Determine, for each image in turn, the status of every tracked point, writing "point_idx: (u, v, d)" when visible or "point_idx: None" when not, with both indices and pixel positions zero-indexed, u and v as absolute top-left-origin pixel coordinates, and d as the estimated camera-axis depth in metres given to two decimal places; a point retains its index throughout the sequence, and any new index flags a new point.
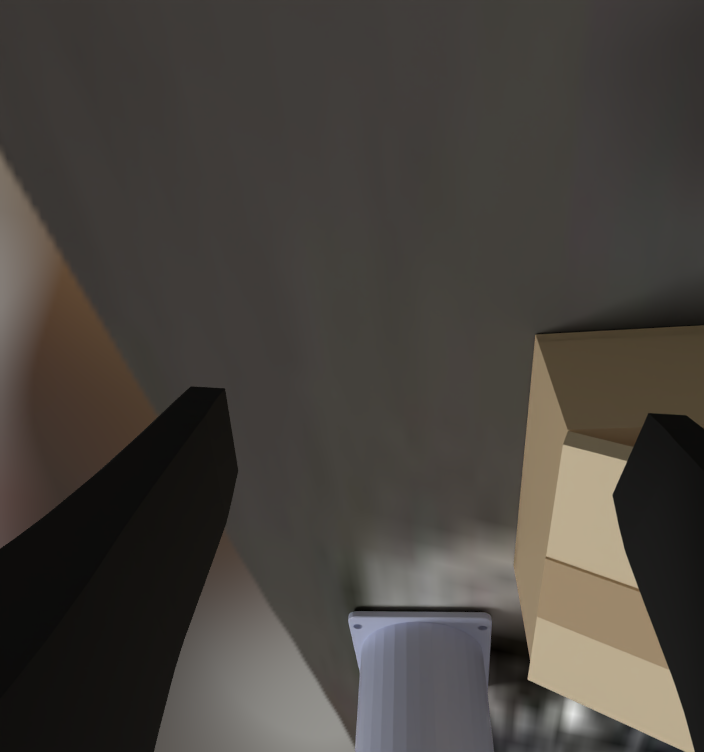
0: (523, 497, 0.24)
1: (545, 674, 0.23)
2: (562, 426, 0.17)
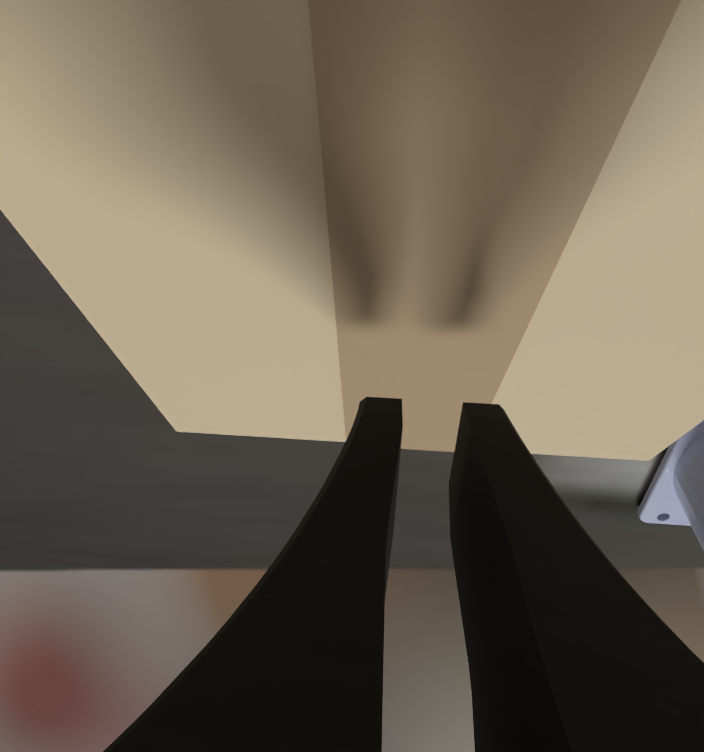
0: None
1: (619, 450, 0.16)
2: None
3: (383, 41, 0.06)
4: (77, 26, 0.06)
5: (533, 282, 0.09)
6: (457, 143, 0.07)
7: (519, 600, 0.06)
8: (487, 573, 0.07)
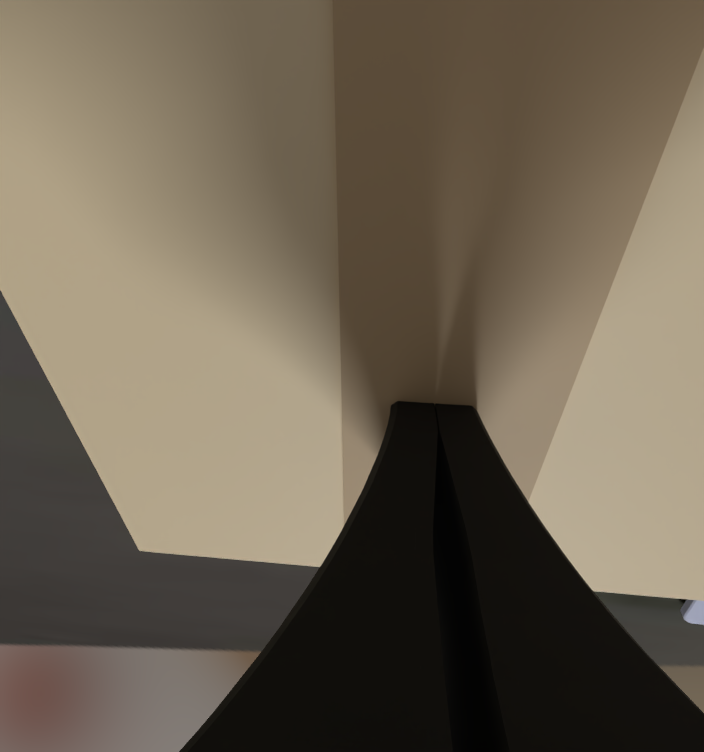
0: None
1: (684, 585, 0.13)
2: None
3: None
4: None
5: (581, 315, 0.08)
6: (497, 103, 0.06)
7: (474, 597, 0.06)
8: (451, 571, 0.07)
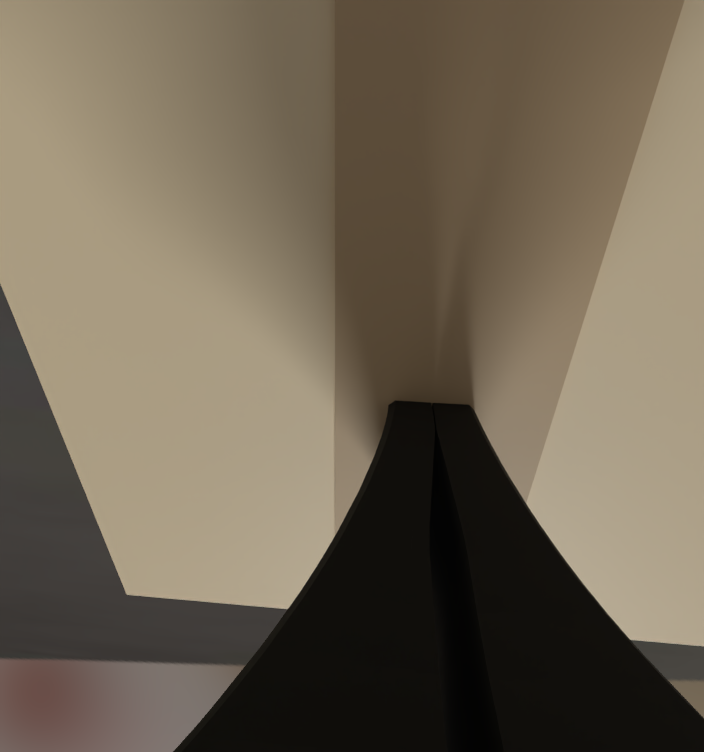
0: None
1: (673, 627, 0.13)
2: None
3: (404, 30, 0.06)
4: (108, 17, 0.06)
5: (557, 348, 0.08)
6: (476, 154, 0.07)
7: (470, 596, 0.06)
8: (448, 570, 0.07)
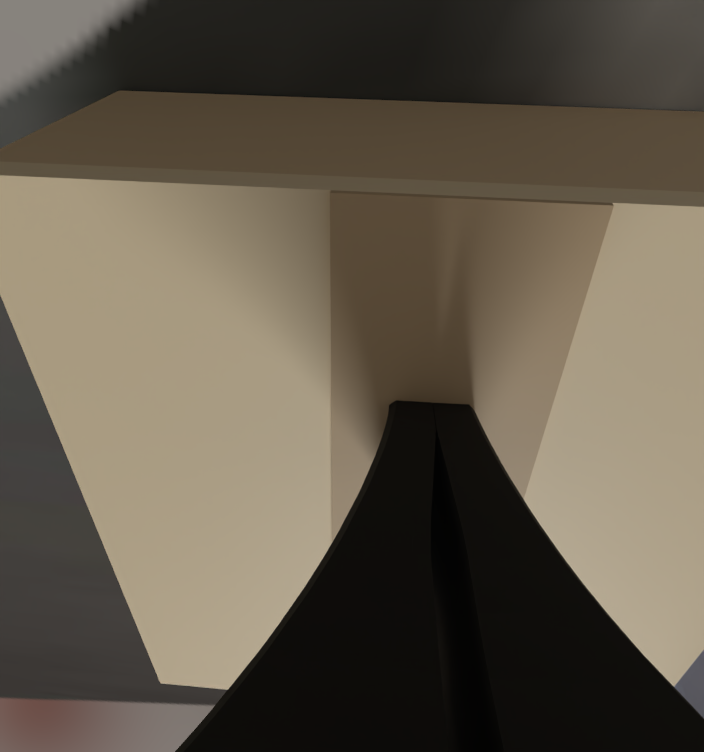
0: None
1: None
2: None
3: (378, 375, 0.09)
4: (175, 357, 0.09)
5: None
6: None
7: (470, 596, 0.06)
8: (448, 570, 0.07)
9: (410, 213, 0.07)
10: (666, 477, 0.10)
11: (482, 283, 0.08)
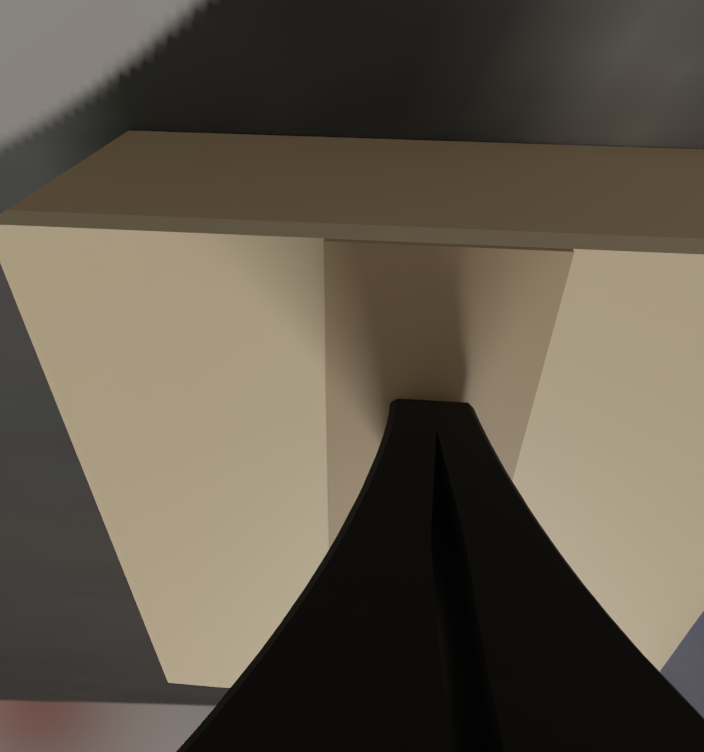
0: None
1: None
2: None
3: (369, 398, 0.10)
4: (184, 382, 0.10)
5: None
6: None
7: (471, 597, 0.06)
8: (448, 570, 0.07)
9: (394, 257, 0.08)
10: (634, 488, 0.11)
11: (460, 318, 0.09)
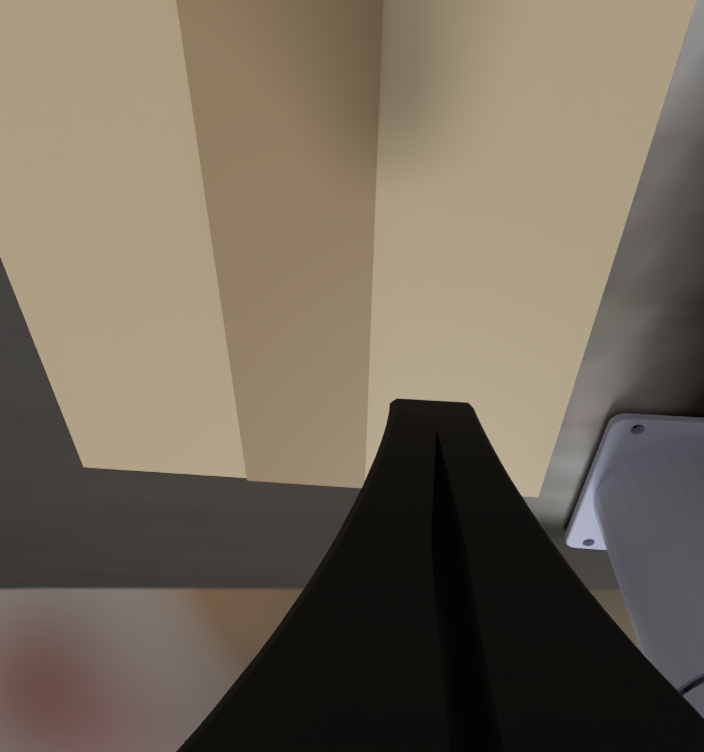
0: None
1: None
2: None
3: (220, 9, 0.10)
4: (37, 3, 0.10)
5: (364, 234, 0.12)
6: (279, 90, 0.10)
7: (470, 596, 0.06)
8: (448, 570, 0.07)
9: None
10: (501, 135, 0.11)
11: None
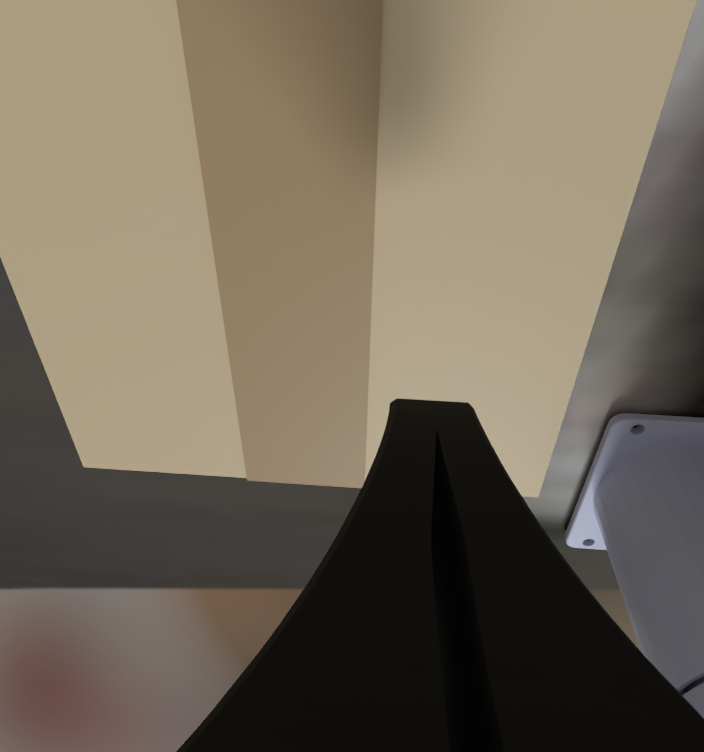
0: None
1: None
2: None
3: (220, 9, 0.10)
4: (37, 3, 0.10)
5: (364, 234, 0.12)
6: (279, 90, 0.10)
7: (470, 596, 0.06)
8: (448, 570, 0.07)
9: None
10: (501, 135, 0.11)
11: None
